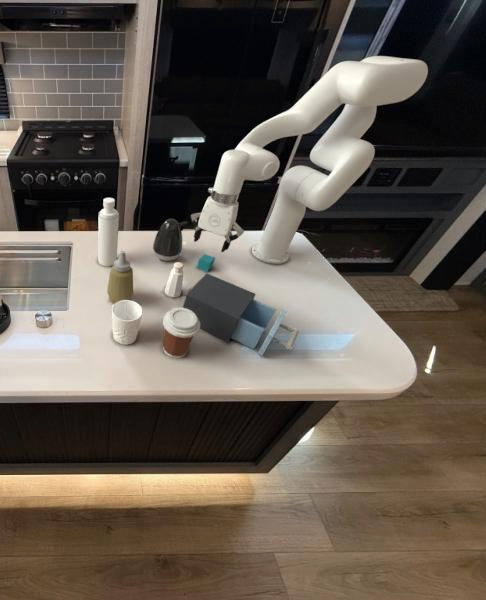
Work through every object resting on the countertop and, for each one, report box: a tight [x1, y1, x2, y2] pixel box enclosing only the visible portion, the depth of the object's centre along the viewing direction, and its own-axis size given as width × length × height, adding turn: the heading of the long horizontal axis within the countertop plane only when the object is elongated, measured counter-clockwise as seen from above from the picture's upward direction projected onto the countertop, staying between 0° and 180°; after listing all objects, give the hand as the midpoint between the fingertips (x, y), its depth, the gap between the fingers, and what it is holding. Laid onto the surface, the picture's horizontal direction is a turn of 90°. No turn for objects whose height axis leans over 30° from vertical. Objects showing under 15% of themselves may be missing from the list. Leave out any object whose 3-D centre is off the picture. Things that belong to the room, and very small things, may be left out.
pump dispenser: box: [152, 218, 188, 262], centre depth 111 cm, size 10×10×15 cm
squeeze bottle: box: [106, 250, 134, 305], centre depth 93 cm, size 8×8×18 cm
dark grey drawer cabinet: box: [182, 272, 257, 344], centre depth 90 cm, size 15×13×10 cm
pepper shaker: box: [164, 262, 184, 298], centre depth 98 cm, size 5×5×11 cm
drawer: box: [231, 299, 300, 357], centre depth 84 cm, size 18×11×8 cm, turn 50°
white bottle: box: [97, 197, 120, 267], centre depth 106 cm, size 7×7×25 cm
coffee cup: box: [162, 307, 201, 359], centre depth 81 cm, size 9×9×12 cm
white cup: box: [111, 299, 143, 346], centre depth 85 cm, size 8×8×10 cm
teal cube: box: [196, 253, 216, 273], centre depth 110 cm, size 4×4×4 cm
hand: (209, 245), depth 105 cm, fingers open, 9 cm apart
